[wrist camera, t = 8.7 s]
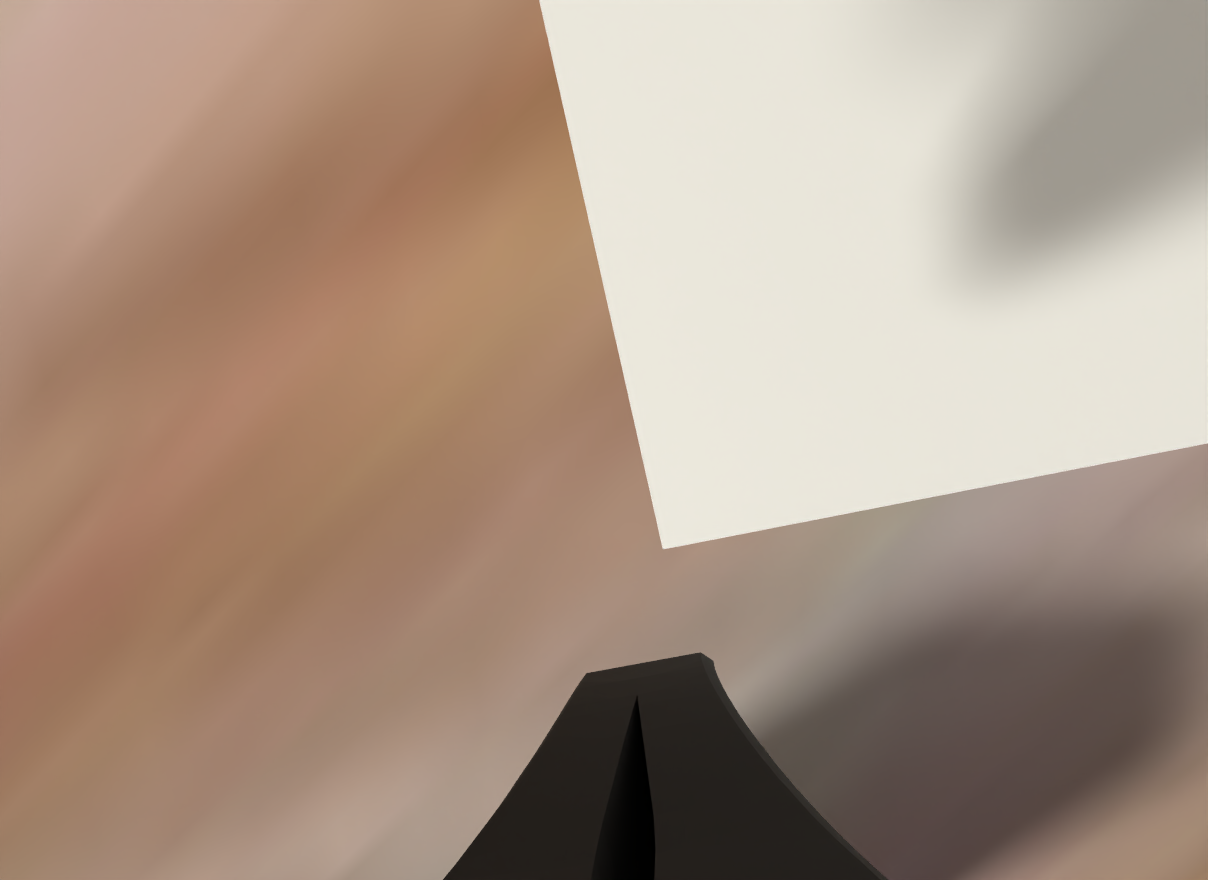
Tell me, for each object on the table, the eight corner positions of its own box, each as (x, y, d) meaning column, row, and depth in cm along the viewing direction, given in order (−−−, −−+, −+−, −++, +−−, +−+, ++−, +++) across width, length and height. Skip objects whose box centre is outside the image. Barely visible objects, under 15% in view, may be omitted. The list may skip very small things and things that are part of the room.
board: (1245, -486, 14) (1342, -590, 12) (1267, 389, 18) (1344, 416, 16) (486, -268, 15) (464, -332, 13) (660, 510, 19) (663, 549, 17)
